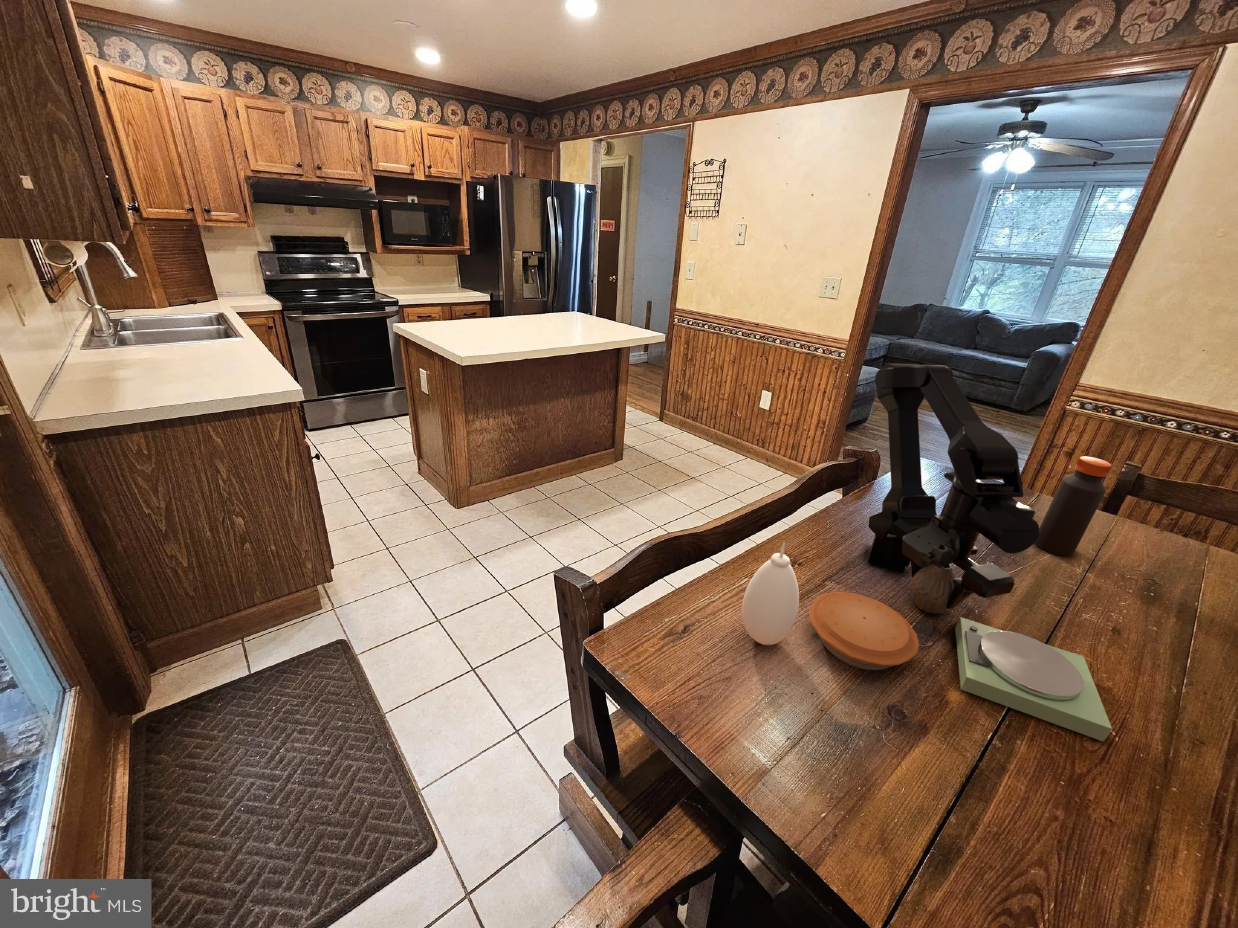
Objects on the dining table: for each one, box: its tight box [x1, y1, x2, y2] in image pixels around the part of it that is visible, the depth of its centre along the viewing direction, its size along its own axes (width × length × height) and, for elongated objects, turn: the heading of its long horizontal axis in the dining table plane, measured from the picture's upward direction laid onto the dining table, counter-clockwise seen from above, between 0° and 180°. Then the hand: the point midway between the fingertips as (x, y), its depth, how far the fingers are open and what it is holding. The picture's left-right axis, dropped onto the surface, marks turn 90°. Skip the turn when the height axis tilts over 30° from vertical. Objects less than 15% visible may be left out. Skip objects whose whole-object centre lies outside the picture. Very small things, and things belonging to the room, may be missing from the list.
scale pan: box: [979, 630, 1083, 700], centre depth 74 cm, size 12×12×1 cm
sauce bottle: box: [741, 541, 800, 646], centre depth 76 cm, size 8×8×18 cm
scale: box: [954, 616, 1113, 742], centre depth 74 cm, size 16×14×3 cm
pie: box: [808, 591, 920, 671], centre depth 79 cm, size 15×16×5 cm
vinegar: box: [1034, 456, 1113, 557], centre depth 104 cm, size 7×7×20 cm
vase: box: [909, 564, 956, 615], centre depth 87 cm, size 7×7×9 cm
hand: (931, 594), depth 88 cm, fingers closed on vase, 7 cm apart
